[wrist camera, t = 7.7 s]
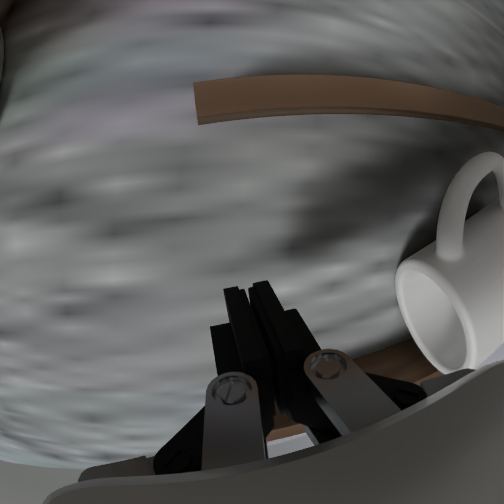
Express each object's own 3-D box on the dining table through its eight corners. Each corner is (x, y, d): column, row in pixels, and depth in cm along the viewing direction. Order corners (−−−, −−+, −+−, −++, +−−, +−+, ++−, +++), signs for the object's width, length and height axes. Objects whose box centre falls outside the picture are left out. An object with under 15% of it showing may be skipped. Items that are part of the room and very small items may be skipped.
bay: (195, 100, 12) (192, 80, 8) (534, 127, 15) (568, 133, 11) (245, 398, 19) (257, 448, 15) (514, 297, 22) (539, 315, 18)
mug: (484, 270, 19) (548, 313, 12) (400, 332, 19) (463, 401, 12) (471, 131, 15) (564, 146, 7) (367, 176, 15) (483, 214, 7)
